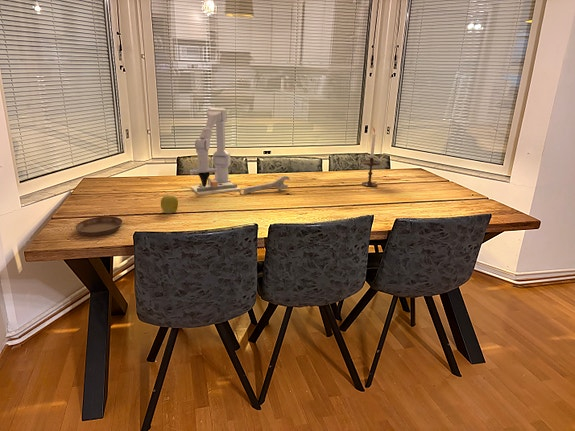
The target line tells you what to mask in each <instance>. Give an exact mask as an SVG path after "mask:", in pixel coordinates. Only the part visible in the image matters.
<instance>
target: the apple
mask: <svg viewBox="0 0 575 431" xmlns="http://www.w3.org/2000/svg"><path fill="white" fill-rule="evenodd" d="M160 208H161V210H162V212H164V213H165V214H175V213H176V212H177V210H178V208H179V200H178V198H177V197H176V195H168V194H166V195H163V196H162V198H161V200H160Z"/></svg>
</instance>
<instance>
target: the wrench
mask: <svg viewBox="0 0 575 431" xmlns="http://www.w3.org/2000/svg"><path fill="white" fill-rule="evenodd" d="M285 181H291V178H290V177H289V176H286V175H282V176H279V178H278V179H276V180H274V181H271V182H267V183H263V184H257V185H252V186H247V187H243V188H242V187H241V188H240V190H239V191H238V193H239V194H240V195H245V194H250V193H255V192H260V191H264V190H268V189H278V190H277V191H282V190H285V189H287V188H288V187H289V185H288V184H285V183H284V182H285ZM241 191H243V192H241Z"/></svg>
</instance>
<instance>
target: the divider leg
mask: <svg viewBox="0 0 575 431" xmlns="http://www.w3.org/2000/svg"><path fill="white" fill-rule="evenodd" d="M207 184H208V185H210V186H211V187H212V188H213V187H218V182H217V181H216V180H214V179H212V178H210V177H208V180H207Z"/></svg>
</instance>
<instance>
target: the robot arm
mask: <svg viewBox="0 0 575 431" xmlns="http://www.w3.org/2000/svg"><path fill="white" fill-rule="evenodd" d="M206 117H207V120H206V123H205V127H203V128H202V130H201V131H200V132H201V133H200V135H199V138H197V139H195V142H194V148H195V151H196V152H195V153H196V154H197V168H196V169H190V170H189V174H190V175H197V174H198V177H199V179H200V181H201V184H202V185H203V186H206V185H207V184H208V178H210V175H211V174H210V173H214V178H213V180H216V181H217V182H218V183H226V182H231V180H230V179H229V167H230V166H231V163H232V159H231V153H230V152H229V151H227V150H226V136H225V135H226V130H225V128H226V127H225V123H227V122H228V121H227V120H228V113H227V110H226V108H224V107H223V108H221V107H220V108H218V107H208V108H207V110H206ZM214 126H215V132H216V135H215V136H216V151H214V152H213V155H212V163H213V165H214V168H213V167H210V165H209V164H210V163H209V158H210V157H209V150H210V148H211V139H212V136H213V129H214Z"/></svg>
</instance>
